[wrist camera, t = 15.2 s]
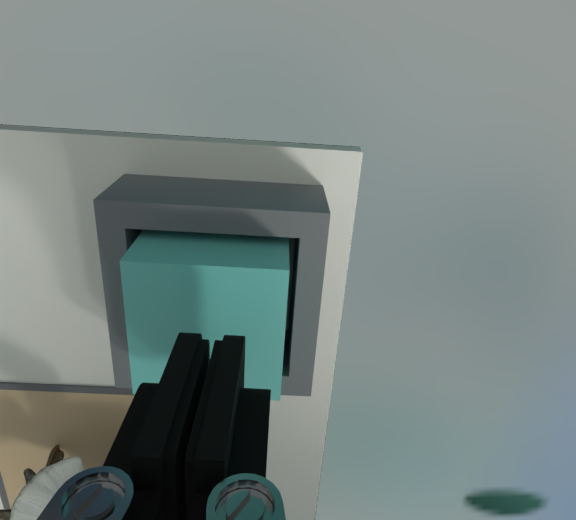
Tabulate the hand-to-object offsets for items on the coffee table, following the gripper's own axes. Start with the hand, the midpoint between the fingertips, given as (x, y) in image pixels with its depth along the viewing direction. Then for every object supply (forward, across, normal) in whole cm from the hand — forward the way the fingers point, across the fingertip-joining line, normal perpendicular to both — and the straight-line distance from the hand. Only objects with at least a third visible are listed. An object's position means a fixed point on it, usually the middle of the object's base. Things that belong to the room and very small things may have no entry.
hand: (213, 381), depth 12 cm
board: (+6, +4, +6) cm, 10 cm away
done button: (+5, 0, 0) cm, 5 cm away
